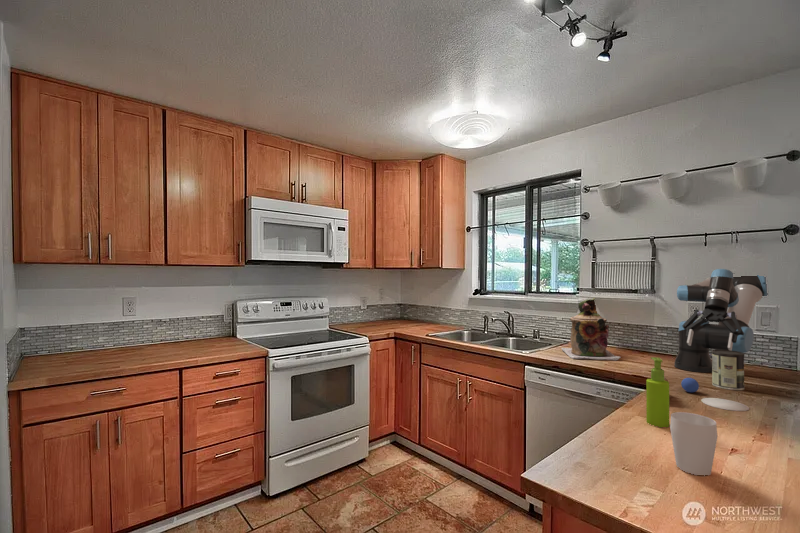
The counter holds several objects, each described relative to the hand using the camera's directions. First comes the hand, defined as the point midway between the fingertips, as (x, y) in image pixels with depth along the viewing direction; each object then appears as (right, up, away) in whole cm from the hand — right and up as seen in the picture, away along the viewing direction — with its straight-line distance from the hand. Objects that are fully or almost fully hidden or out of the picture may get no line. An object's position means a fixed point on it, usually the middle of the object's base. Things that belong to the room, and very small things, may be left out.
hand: (708, 346), depth 161 cm
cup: (-56, -16, -67) cm, 89 cm away
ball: (-14, -13, -8) cm, 21 cm away
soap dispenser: (-47, -16, -39) cm, 63 cm away
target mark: (-12, -16, -22) cm, 30 cm away
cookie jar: (-22, -17, +57) cm, 63 cm away
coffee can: (+7, -16, -1) cm, 18 cm away
